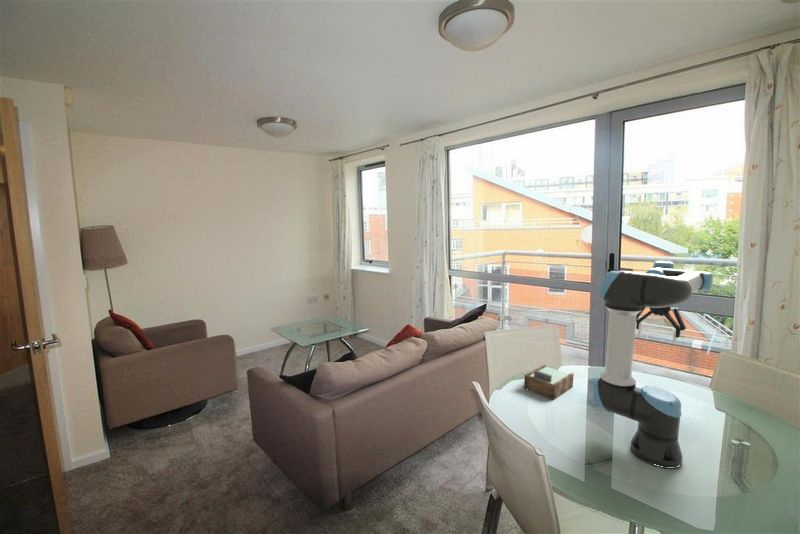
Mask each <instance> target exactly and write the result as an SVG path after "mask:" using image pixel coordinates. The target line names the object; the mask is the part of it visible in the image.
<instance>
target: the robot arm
mask: <svg viewBox="0 0 800 534" xmlns="http://www.w3.org/2000/svg"><path fill="white" fill-rule="evenodd" d="M713 277H714V276H713V273H712V272H709V271H708V272H707V271H703V270H699V271H698V270H686V269H677V268H675V264H674V262H673V261H668V260H667V261H665V260H657V261H656V260H655V261H654V262H653V266H652V268H650V269H648V270H647V271H645V272H636V271H635V272H634V271H627V270H626V271H625V270H610V271H609V272H607V273H606V274H605V276H604V278H603V279H602V281H601V284H600V288H599V292H598V293H599V294H598V295H599V299H600V300H601V301H603V302H604V307H605V308H606V309H607V311H608V312H609V313H608V325H607V338H606V340H607V341H606V353H605V355H606V356H605V368H604V371H603V372H601V373H600V375H599V376H597V377H596V378H595V380H594V383H593V386H592V396H593V401H594V403H595V405H596V406H597V407H598V408H600V409H603V410H605V411H606V412H609V413H613V414H616V415H618V416H620V417H621V416H622V417H624V418H626V419H629V420H633V421H635V422H638V423H637V424H638V425H637V429H636V431H635V433H634V434H633V436H632V438H631V439H630V447H629V448H630V451H631V452H632V453H633V454H634V455H635V456H636V457H637V458H639V459H640V460H641V459H642V460H641V461H643V460H644V461H643V462H645V461H646V462H645V463H647V462H649V463H652V464H656V465H659V466H663V467H677V466H679V465H681V464H683V457H684V456H683V453H682V450H681V446H680V443H679V432H680V426H681V425H680V424H681V417H682V402H681V400H680V398H678V397H677V396H676V395H675V394H674V393H672V392H670V391H668V390H666V389H663V388H661V387H658V386H651V385H643V386H642V387H641V388H640V387H637V386H636V385H637V381H636V379H635V378H634V377H633V376H632V375H633V363H634V350H635V340H636V330H638V331H637V332H638V333H637V338H641V337H642V336H643V328H644V327H643V326H644V322H643V321H644V320H645V319H647V318H648V317H649V316H651V315H655V316H661V317H665V318H666V320H668V322H669V323H670V324H671V325H672V326H673V328H674V330H673V333H672V334H673V335H672V345H673V346H675V345H676V344H677V341H678V338H680V337H681V331H685V330H686V329H687V326H686V325H685V323H684V320H683V318H682V316H681V313H680V310H679V307H674V306H677V305H680V304H681V305H682V304H683V303H685V302H687V301H688V300H689V299H690V298H691V296H692V294H693V293H694V292H696V291H704V292H705V291H707V292H708V291H710V290H711V289H712V286H713V281H714V280H713V279H714V278H713ZM646 309H649V311H648V312H647V313H645V314H644V315H642V313H643V312H644V311H645V310H646ZM670 312H672V313H673V315H674V317H675V319H676V320H675V319H674V318H673V316H672V315H671V313H670ZM641 315H642V316H641ZM640 316H641V317H640ZM639 317H640V318H639ZM649 463H648V464H649ZM681 466H682V465H681Z"/></svg>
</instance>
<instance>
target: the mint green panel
mask: <svg viewBox="0 0 800 534" xmlns="http://www.w3.org/2000/svg"><path fill="white" fill-rule="evenodd" d="M534 370H535V369H534ZM569 374H570V373H567V372H564V371H563V370H558V369H555V368H551V367H549V366H547V367H545V368H543V369H541V370H539V371H537V370H535V371H534V373H533V374H532V375H530V376H532V377H535V378H537V379H540V380H543V381H546V382H549V383H552V384H554V383H556V382H557V381H559V380H561V379H562V378H564V377H565V376H567V375H569Z"/></svg>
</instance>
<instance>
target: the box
mask: <svg viewBox="0 0 800 534" xmlns="http://www.w3.org/2000/svg"><path fill="white" fill-rule="evenodd" d="M545 367H548V366H547V364H546V363H545V364H543V365H541V366H538V367H537V368H535V369H533V370H531V371H529V372H527V373H525V374H524V380H523V381H524V382H523V384H524V385H523V389H524V388H525V389H524V390H526V389H528V390H527V391H529V390H530V391H529V392H531V391H533V392H532V393H534V392H535V393H534V394H536V393H537V395H539V394H540V395H539V396H541V395H542V397H544V398H548V399H550V400H553V401H554V400H556V399H558V398H559V397H561V396H562V395H564V394H565V393H566V392H567V391H569V390H571V389H573V387H574V376H575V375H574V373H575V372H571V373H568V374H569V375H567V376H565V377H564V378H562V379H561V380H559V381H557V382H556V383H554V384H552V383H549V382H546V381H543V380H540V379H537V378H535V377H532V376H530V375H532V374H533V373H534V371H535V370H537V371H539V370H541V369H543V368H545Z"/></svg>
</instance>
